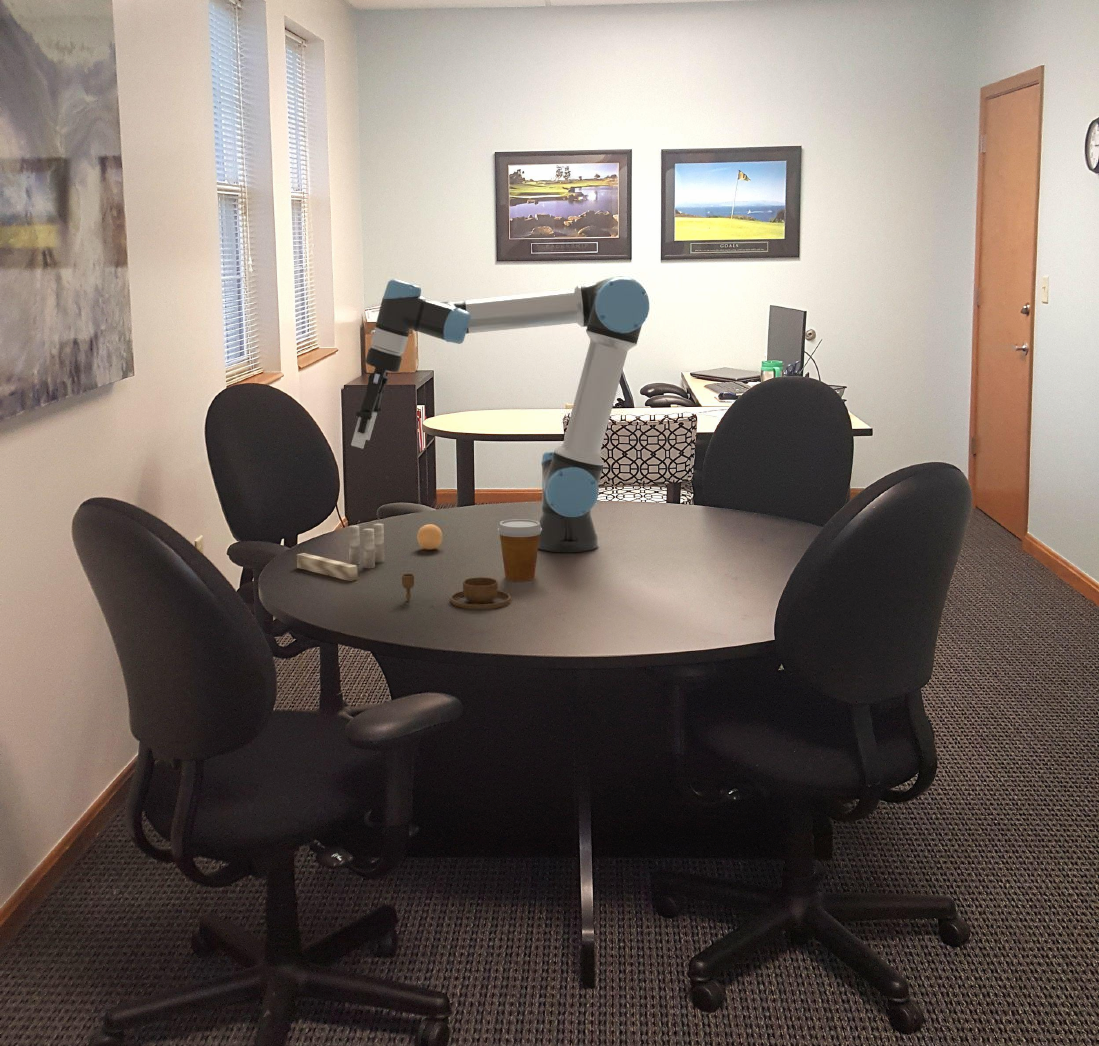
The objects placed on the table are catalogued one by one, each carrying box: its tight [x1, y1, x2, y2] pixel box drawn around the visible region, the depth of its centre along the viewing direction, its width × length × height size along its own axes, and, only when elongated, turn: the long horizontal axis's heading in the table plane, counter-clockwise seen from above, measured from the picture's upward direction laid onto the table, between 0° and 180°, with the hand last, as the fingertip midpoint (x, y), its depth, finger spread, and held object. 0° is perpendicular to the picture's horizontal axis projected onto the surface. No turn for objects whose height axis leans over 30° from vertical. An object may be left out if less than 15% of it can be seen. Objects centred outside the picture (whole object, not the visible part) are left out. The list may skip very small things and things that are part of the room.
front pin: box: [372, 523, 385, 564], centre depth 269 cm, size 2×2×8 cm
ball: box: [416, 523, 444, 551], centre depth 281 cm, size 6×6×6 cm
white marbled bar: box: [296, 552, 358, 582], centre depth 258 cm, size 18×2×3 cm, turn 49°
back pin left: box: [362, 528, 376, 569], centre depth 263 cm, size 2×2×8 cm
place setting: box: [401, 573, 511, 610], centre depth 238 cm, size 18×20×6 cm
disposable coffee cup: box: [497, 518, 542, 582], centre depth 254 cm, size 10×10×12 cm
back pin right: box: [347, 524, 361, 566], centre depth 266 cm, size 2×2×8 cm
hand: (360, 442), depth 264 cm, fingers open, 13 cm apart
